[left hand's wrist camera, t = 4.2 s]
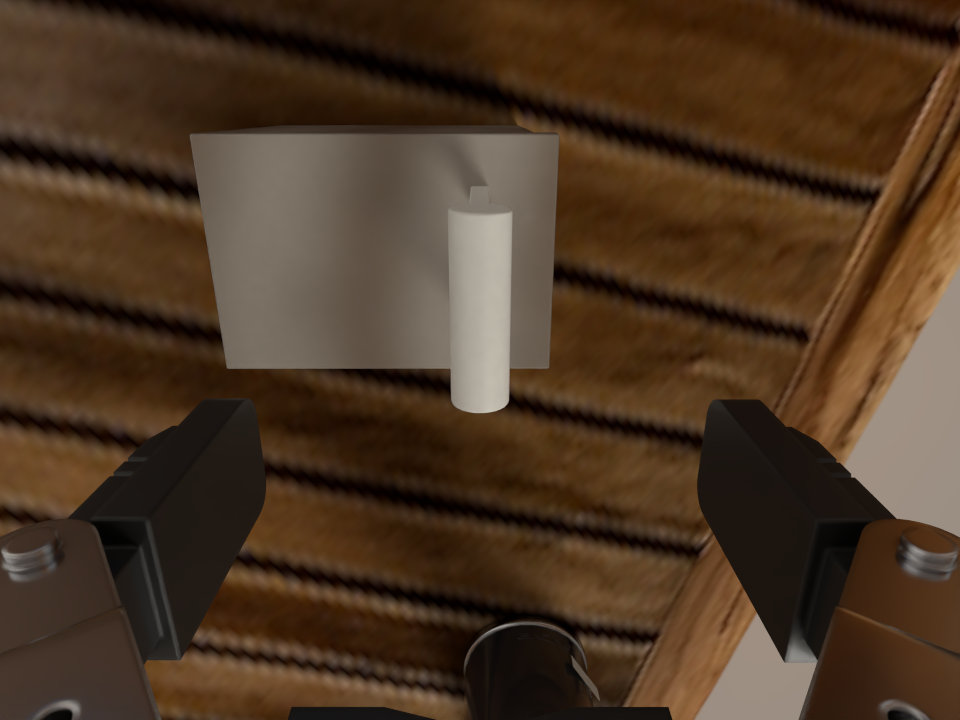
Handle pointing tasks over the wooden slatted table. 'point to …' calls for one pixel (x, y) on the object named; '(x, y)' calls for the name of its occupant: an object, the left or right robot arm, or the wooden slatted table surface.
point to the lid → (383, 252)
